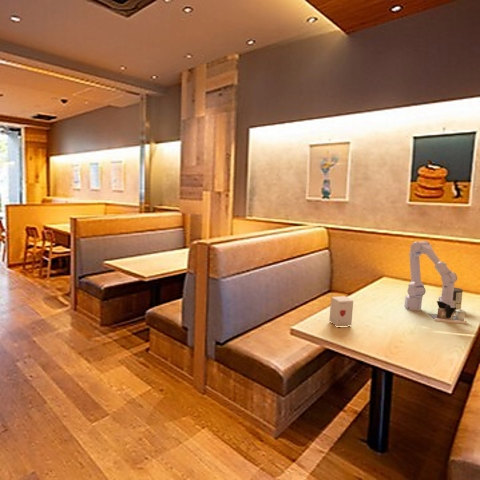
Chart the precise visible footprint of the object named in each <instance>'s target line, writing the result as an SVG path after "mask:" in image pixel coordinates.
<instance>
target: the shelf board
mask: <svg viewBox="0 0 480 480" xmlns="http://www.w3.org/2000/svg"><path fill="white" fill-rule="evenodd" d="M437 314H438V313H430V312H429V313H428V315H429V316H430V318H432V320H434V322H445V323H456V324H464V325H465V324H466V325H467V323H468V322H467V320H464V321H459V320H455V317H456V315H453V320H448V319H438V318H437Z"/></svg>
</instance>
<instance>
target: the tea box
mask: <svg viewBox="0 0 480 480" xmlns="http://www.w3.org/2000/svg"><path fill="white" fill-rule="evenodd" d="M454 313H455V312H453V313H452V316H451V318H446V309H445V308H439V307H438V308H437V313H436V314H437V318H438V319H448V320H453V316H454Z"/></svg>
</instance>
